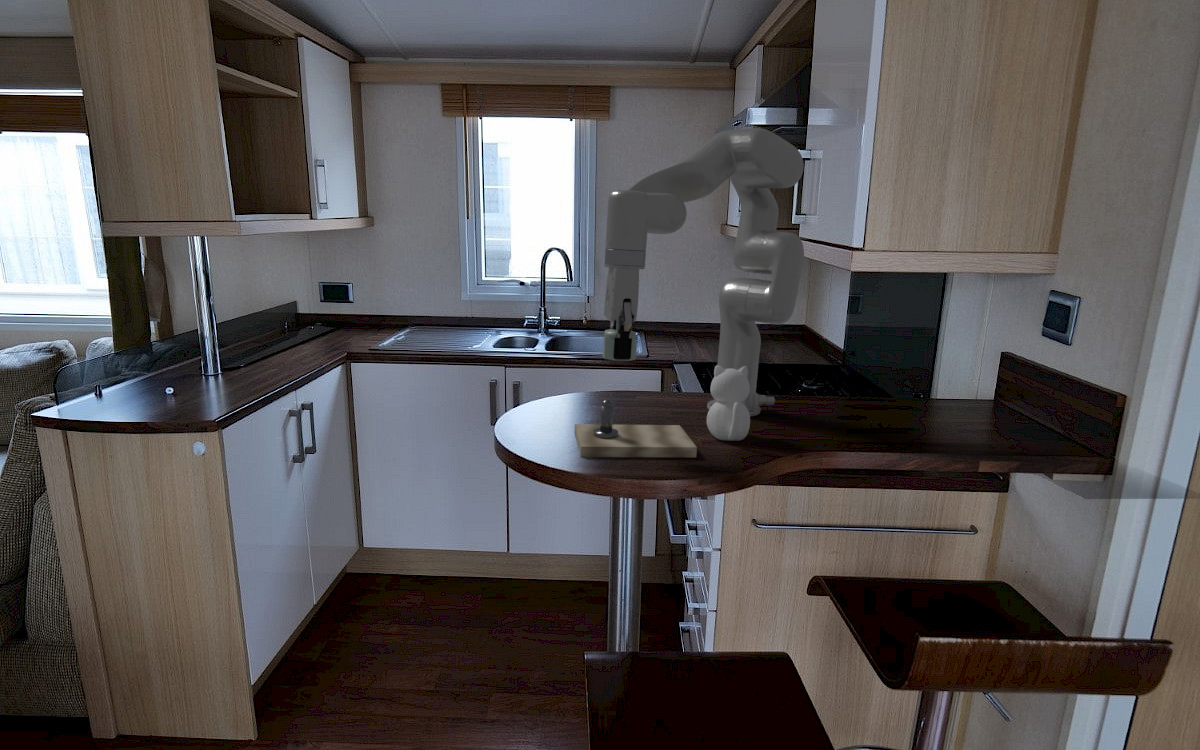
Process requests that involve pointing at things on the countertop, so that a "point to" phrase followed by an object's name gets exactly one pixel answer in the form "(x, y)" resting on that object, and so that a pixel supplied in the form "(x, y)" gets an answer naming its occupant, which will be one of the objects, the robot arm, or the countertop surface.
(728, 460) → the countertop surface
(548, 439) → the countertop surface
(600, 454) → the board
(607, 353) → the cap
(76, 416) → the countertop surface
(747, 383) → the cat figurine
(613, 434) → the pin
